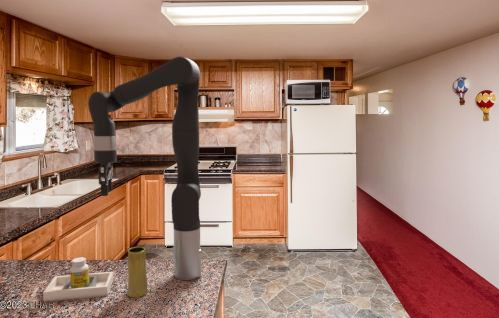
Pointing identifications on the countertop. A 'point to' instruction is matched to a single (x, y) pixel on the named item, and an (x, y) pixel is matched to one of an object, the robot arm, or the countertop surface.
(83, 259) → the supplement bottle
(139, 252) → the vase
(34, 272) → the countertop surface
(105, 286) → the walled box
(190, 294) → the countertop surface
